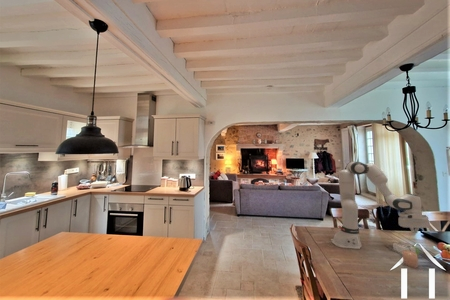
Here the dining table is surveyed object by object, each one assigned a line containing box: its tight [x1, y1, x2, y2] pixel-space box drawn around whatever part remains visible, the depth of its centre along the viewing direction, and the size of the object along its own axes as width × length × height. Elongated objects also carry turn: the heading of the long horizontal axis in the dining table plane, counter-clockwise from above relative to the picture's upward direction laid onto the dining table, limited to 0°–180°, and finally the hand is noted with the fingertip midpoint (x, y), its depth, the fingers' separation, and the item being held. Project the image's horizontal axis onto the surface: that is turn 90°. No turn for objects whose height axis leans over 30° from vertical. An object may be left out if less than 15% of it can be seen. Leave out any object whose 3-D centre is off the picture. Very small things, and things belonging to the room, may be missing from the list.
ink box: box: [392, 242, 420, 255], centre depth 136 cm, size 9×5×12 cm
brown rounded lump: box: [402, 250, 419, 269], centre depth 121 cm, size 7×7×8 cm
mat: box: [386, 246, 425, 259], centre depth 136 cm, size 13×16×1 cm
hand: (414, 232), depth 136 cm, fingers closed
